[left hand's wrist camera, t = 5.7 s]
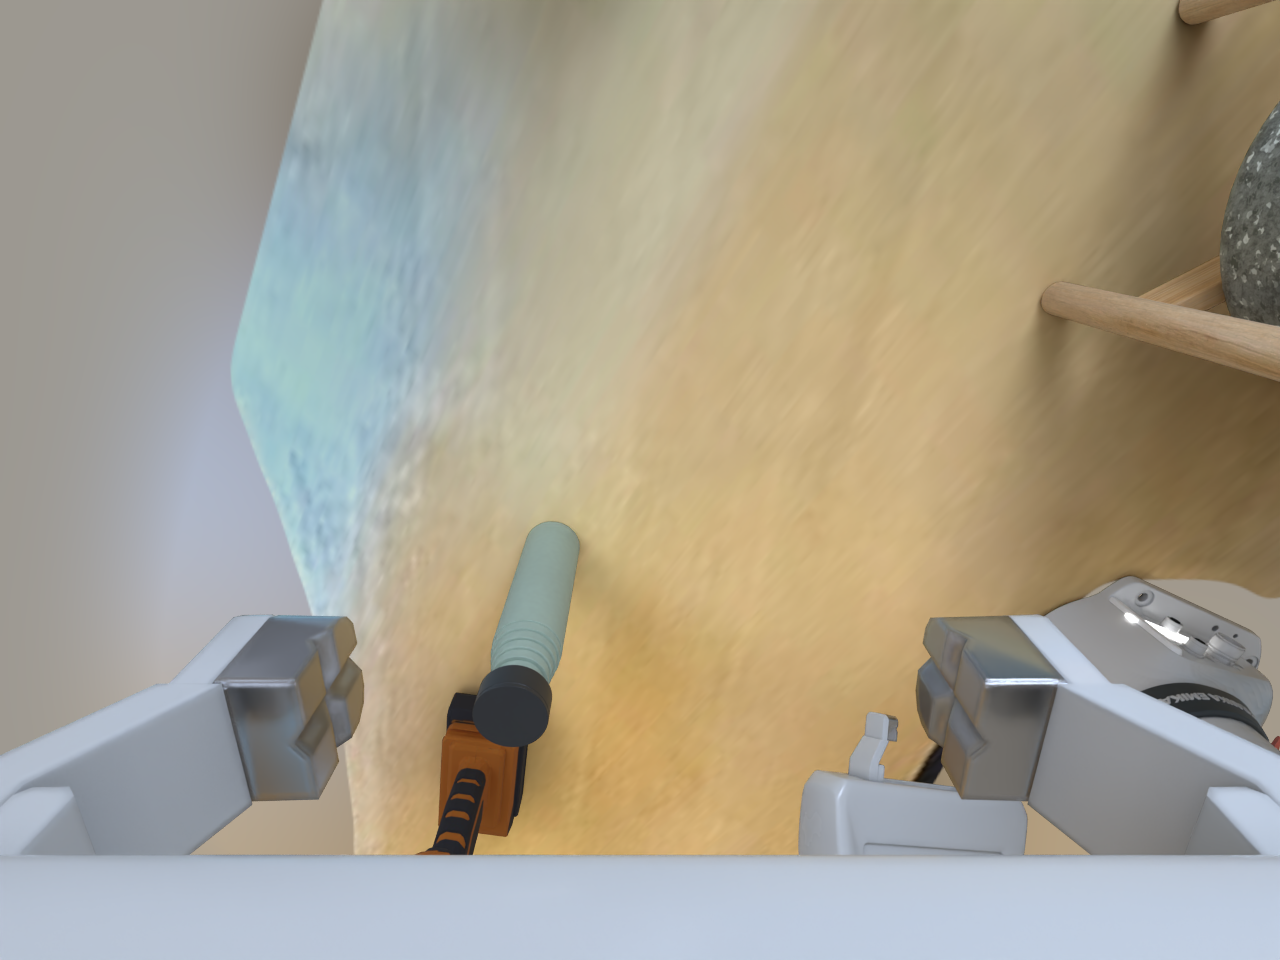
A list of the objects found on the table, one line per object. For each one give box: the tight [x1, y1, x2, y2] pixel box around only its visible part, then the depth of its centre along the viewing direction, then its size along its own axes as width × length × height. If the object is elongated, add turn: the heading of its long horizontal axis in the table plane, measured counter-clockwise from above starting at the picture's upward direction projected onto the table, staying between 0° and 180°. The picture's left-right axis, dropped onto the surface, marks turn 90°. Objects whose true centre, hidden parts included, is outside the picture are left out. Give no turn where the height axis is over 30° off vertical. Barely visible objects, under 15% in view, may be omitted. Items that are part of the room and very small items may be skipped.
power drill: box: [415, 693, 528, 855], centre depth 60 cm, size 22×7×25 cm, turn 172°
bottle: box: [491, 522, 580, 684], centre depth 53 cm, size 5×5×22 cm
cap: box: [472, 665, 552, 747], centre depth 44 cm, size 4×4×2 cm
